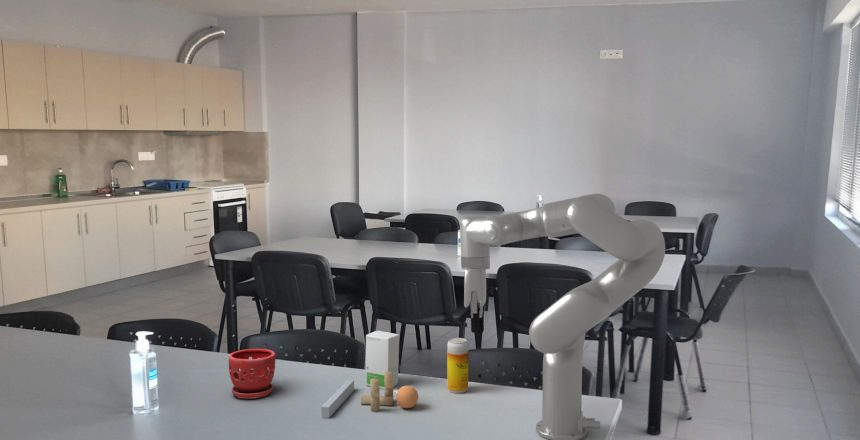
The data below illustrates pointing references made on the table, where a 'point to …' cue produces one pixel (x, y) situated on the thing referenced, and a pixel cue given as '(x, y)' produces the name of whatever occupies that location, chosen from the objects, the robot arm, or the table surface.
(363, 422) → the table surface
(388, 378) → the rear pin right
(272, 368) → the plant pot
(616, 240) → the robot arm
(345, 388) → the back rail
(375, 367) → the skincare box
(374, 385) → the rear pin left
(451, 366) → the yellow canister
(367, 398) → the front pin
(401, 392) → the ball
